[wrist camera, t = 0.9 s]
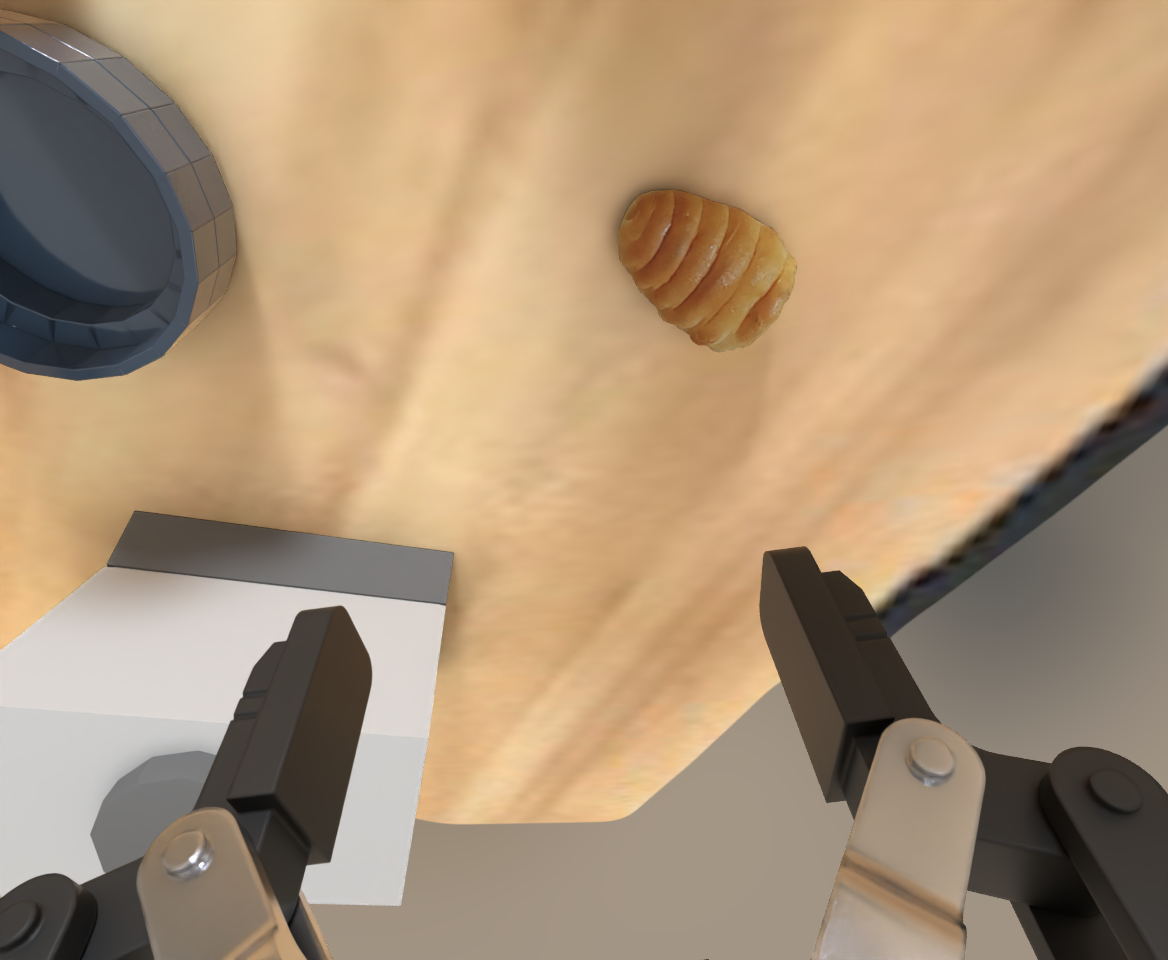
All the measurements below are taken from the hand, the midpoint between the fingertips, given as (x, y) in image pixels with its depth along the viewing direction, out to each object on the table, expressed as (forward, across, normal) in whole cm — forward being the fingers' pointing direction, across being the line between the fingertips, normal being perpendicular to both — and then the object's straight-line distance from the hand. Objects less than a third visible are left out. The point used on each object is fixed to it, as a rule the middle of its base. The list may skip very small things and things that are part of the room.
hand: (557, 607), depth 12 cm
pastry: (+26, -8, +3) cm, 27 cm away
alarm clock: (+26, +21, +22) cm, 40 cm away
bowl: (+26, +22, -4) cm, 34 cm away
